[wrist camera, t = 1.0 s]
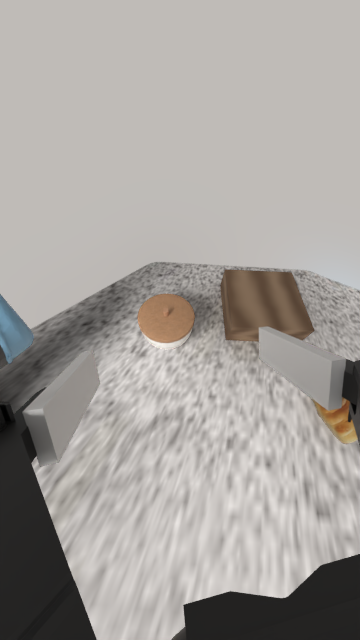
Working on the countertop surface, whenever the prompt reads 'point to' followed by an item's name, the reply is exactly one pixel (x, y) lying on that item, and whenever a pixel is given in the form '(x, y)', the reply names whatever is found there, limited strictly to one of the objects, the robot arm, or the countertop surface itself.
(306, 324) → the walnut box
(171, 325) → the lidded jar
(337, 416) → the pastry
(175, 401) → the countertop surface
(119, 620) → the countertop surface
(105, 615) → the countertop surface
